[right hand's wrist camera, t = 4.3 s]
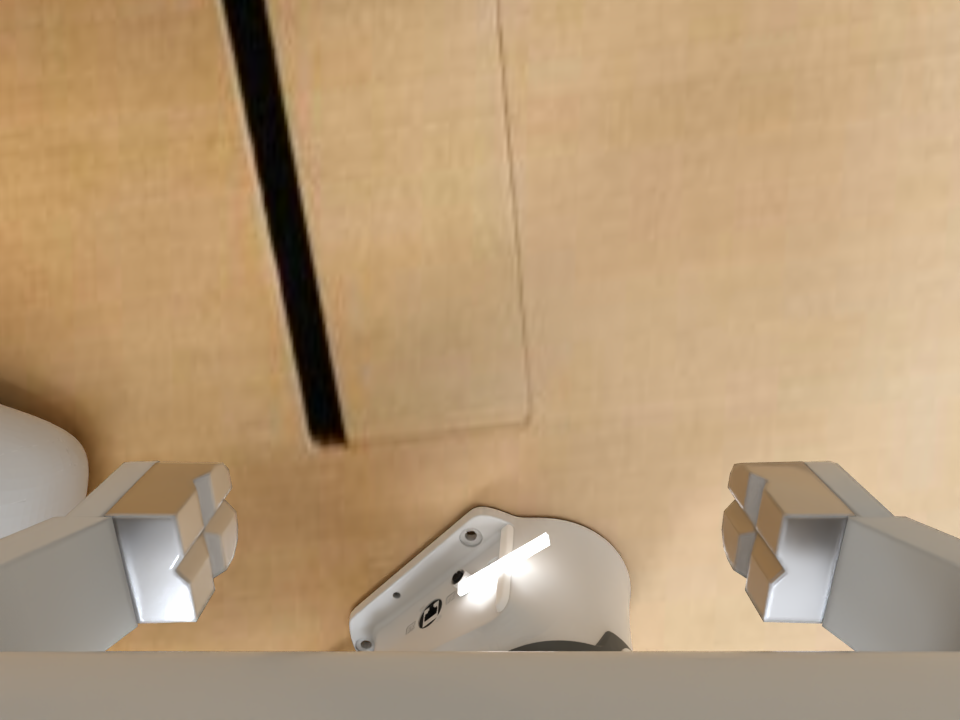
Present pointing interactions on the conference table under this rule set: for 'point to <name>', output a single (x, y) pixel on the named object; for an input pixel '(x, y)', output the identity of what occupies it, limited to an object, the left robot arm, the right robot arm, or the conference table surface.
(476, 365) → the conference table surface
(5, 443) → the white grey rounded device
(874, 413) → the conference table surface
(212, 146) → the conference table surface
